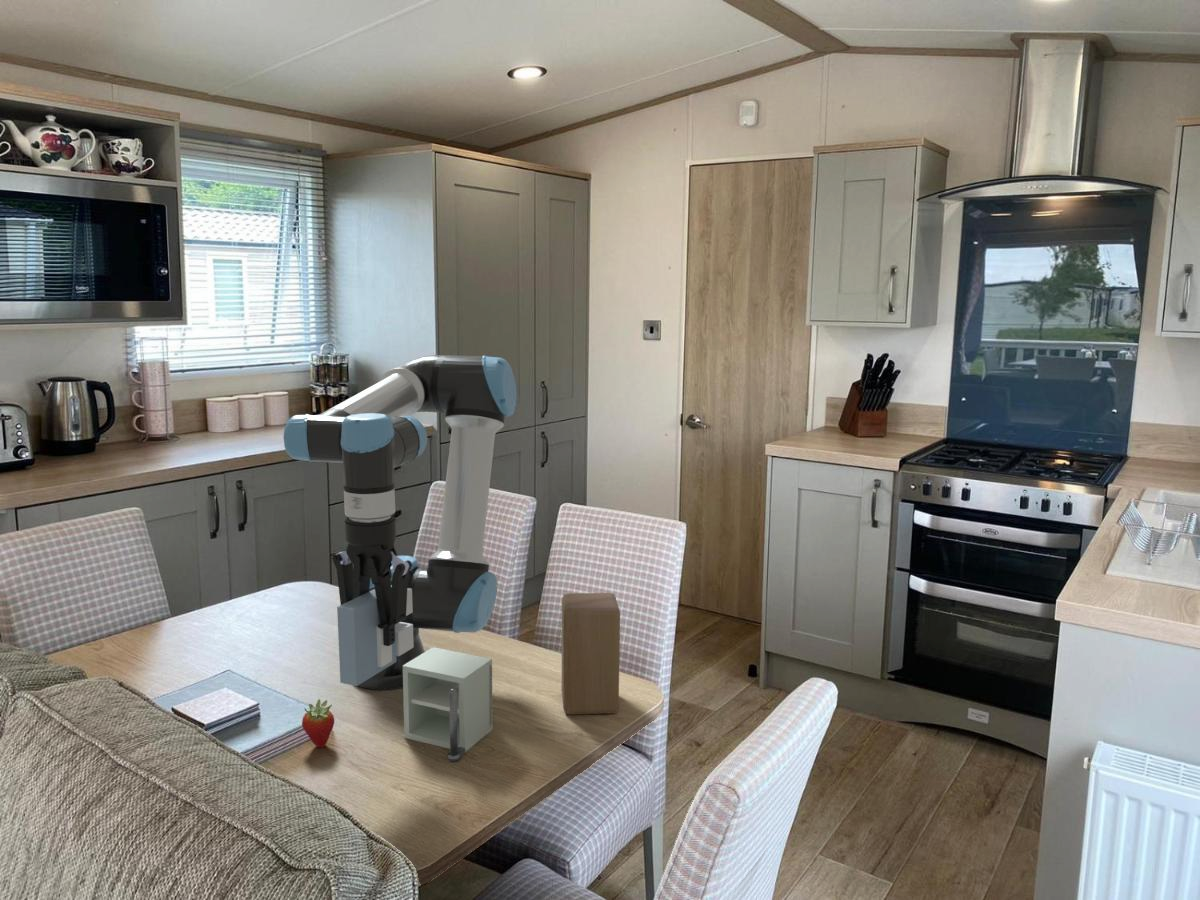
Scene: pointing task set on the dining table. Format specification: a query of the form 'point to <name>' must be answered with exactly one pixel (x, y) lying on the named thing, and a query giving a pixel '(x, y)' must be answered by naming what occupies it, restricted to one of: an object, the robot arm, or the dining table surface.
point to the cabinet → (447, 697)
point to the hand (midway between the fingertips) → (375, 661)
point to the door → (367, 638)
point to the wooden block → (590, 653)
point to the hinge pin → (454, 729)
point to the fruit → (318, 723)
